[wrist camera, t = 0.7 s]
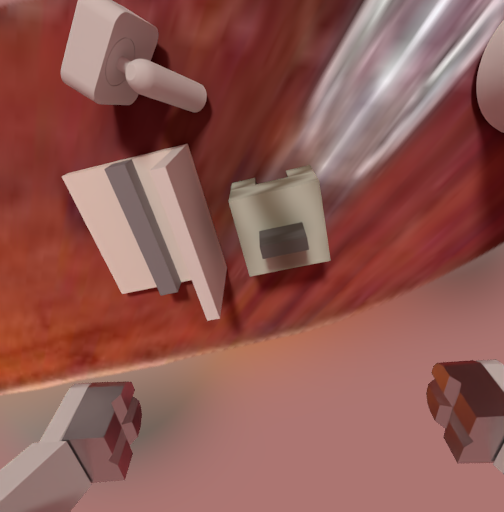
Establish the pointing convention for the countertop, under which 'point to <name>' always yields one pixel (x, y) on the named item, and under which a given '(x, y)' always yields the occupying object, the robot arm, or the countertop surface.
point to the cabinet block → (280, 222)
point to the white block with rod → (121, 60)
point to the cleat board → (118, 225)
